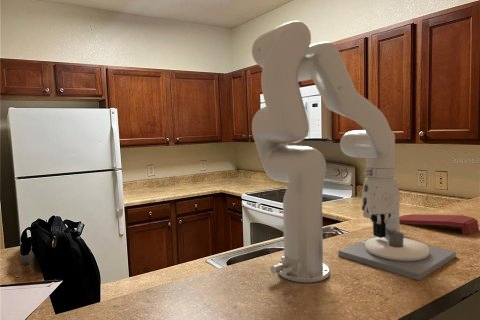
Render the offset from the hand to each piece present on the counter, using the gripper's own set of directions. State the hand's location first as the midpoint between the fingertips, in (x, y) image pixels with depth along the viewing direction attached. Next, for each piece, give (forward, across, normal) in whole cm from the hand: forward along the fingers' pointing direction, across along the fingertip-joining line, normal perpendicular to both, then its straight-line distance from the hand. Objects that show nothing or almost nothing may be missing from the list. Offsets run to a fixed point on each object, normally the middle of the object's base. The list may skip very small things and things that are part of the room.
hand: (379, 236), depth 100 cm
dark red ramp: (+4, +35, +13) cm, 38 cm away
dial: (+2, +1, -6) cm, 6 cm away
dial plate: (+4, +1, -6) cm, 7 cm away
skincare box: (+4, +14, +14) cm, 21 cm away
